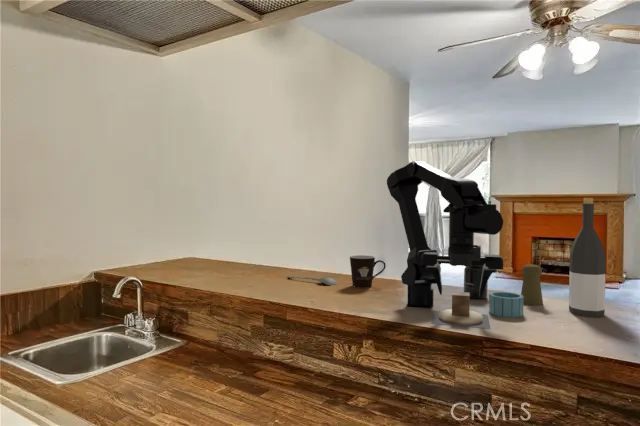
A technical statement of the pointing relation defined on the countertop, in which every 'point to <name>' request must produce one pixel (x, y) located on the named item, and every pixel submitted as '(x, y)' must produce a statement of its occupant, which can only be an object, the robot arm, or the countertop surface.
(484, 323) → the rubber mat
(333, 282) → the soupspoon
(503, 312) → the ceramic bowl
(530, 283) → the cork
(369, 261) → the coffee mug
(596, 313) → the wine bottle
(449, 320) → the wooden lid
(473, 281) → the supplement bottle
